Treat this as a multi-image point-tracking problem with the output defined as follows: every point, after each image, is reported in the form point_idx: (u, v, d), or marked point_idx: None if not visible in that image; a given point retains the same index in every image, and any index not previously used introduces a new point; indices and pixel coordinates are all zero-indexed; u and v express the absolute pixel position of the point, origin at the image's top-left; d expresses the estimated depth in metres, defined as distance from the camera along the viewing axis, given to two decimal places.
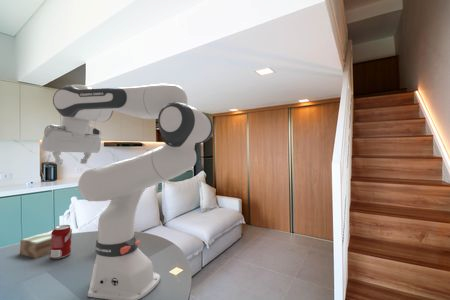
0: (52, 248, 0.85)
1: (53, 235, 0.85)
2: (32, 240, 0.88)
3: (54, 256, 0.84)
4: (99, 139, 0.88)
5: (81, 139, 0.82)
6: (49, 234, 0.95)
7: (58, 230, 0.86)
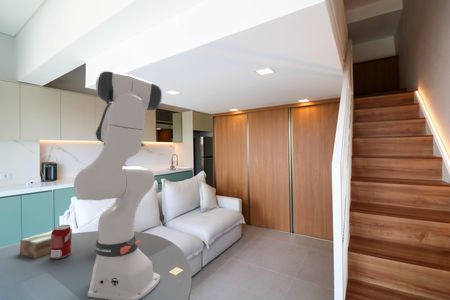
0: (52, 248, 0.85)
1: (53, 235, 0.85)
2: (32, 240, 0.88)
3: (54, 256, 0.84)
4: None
5: None
6: (49, 234, 0.95)
7: (58, 230, 0.86)
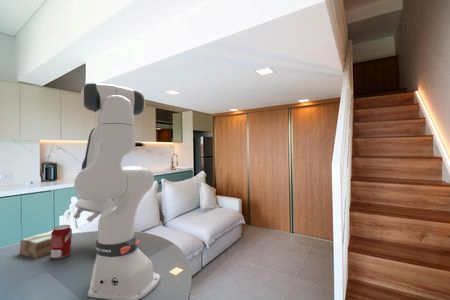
0: (52, 248, 0.85)
1: (53, 235, 0.85)
2: (32, 240, 0.88)
3: (54, 256, 0.84)
4: (107, 199, 0.98)
5: (97, 199, 1.00)
6: (49, 234, 0.95)
7: (58, 230, 0.86)
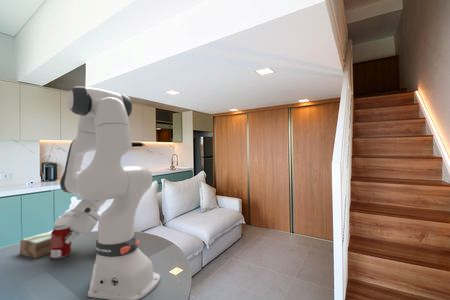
0: (52, 248, 0.85)
1: (53, 235, 0.85)
2: (32, 240, 0.88)
3: (54, 256, 0.84)
4: (87, 218, 0.89)
5: (77, 218, 0.92)
6: (49, 234, 0.95)
7: (58, 230, 0.86)
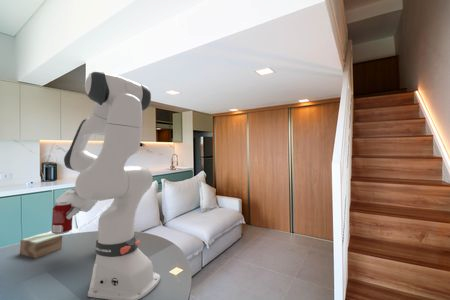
0: (53, 223, 0.85)
1: (54, 210, 0.85)
2: (32, 240, 0.88)
3: (55, 231, 0.85)
4: None
5: (78, 196, 0.93)
6: (49, 234, 0.95)
7: (59, 206, 0.86)
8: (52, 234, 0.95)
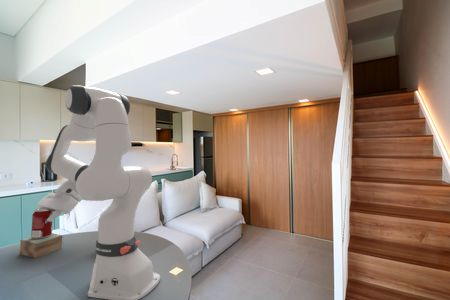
0: (33, 229, 0.89)
1: (34, 216, 0.89)
2: (32, 240, 0.88)
3: (35, 236, 0.88)
4: (68, 198, 0.94)
5: (59, 198, 0.96)
6: None
7: (39, 212, 0.89)
8: (52, 234, 0.95)
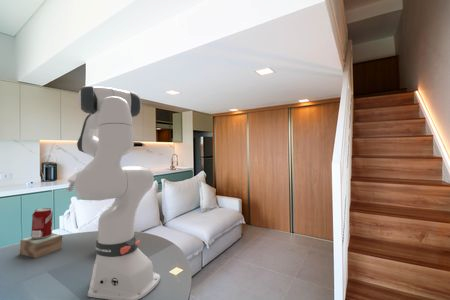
0: (33, 229, 0.89)
1: (34, 216, 0.89)
2: (32, 240, 0.88)
3: (35, 236, 0.88)
4: None
5: None
6: None
7: (39, 212, 0.90)
8: (52, 234, 0.95)
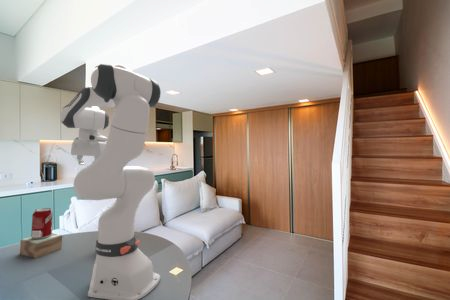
0: (33, 229, 0.89)
1: (34, 216, 0.89)
2: (32, 240, 0.88)
3: (35, 236, 0.88)
4: (97, 144, 1.00)
5: (88, 145, 1.03)
6: None
7: (39, 212, 0.89)
8: (52, 234, 0.95)
